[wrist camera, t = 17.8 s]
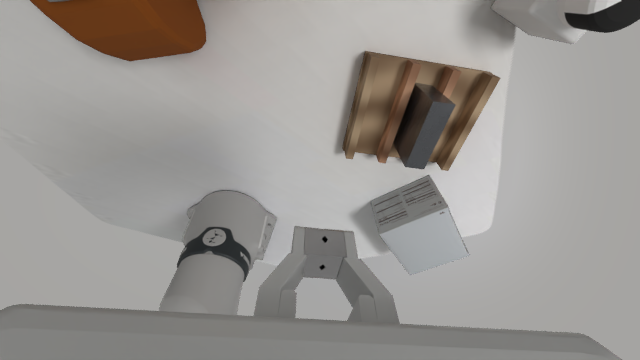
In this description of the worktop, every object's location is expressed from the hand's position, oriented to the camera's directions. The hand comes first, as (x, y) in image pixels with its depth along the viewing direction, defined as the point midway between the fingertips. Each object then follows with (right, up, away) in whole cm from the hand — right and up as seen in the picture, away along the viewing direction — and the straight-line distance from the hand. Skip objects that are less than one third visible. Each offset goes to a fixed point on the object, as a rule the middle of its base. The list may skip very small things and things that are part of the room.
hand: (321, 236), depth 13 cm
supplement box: (+21, -4, +43) cm, 48 cm away
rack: (+15, +14, +29) cm, 35 cm away
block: (+15, +13, +28) cm, 34 cm away
